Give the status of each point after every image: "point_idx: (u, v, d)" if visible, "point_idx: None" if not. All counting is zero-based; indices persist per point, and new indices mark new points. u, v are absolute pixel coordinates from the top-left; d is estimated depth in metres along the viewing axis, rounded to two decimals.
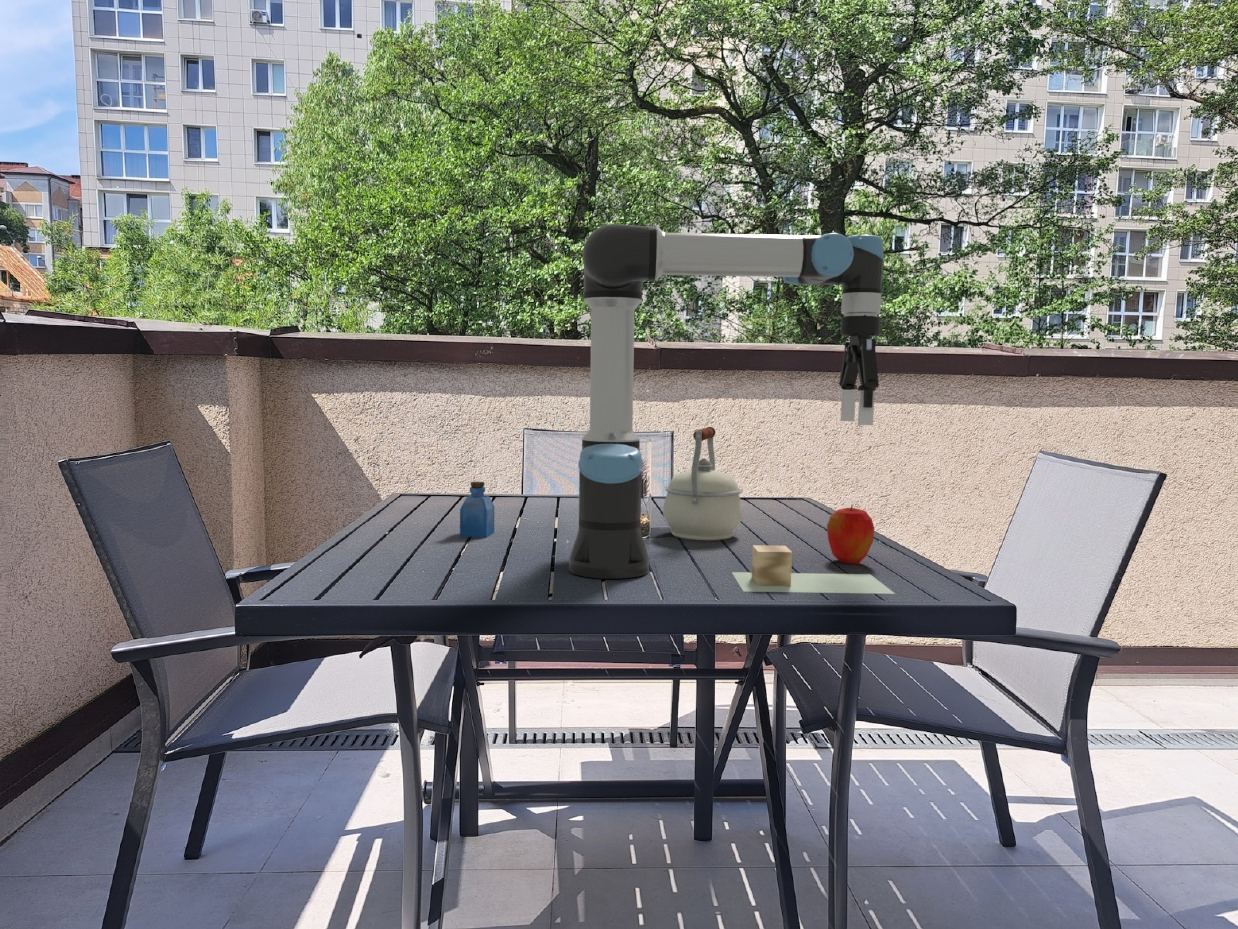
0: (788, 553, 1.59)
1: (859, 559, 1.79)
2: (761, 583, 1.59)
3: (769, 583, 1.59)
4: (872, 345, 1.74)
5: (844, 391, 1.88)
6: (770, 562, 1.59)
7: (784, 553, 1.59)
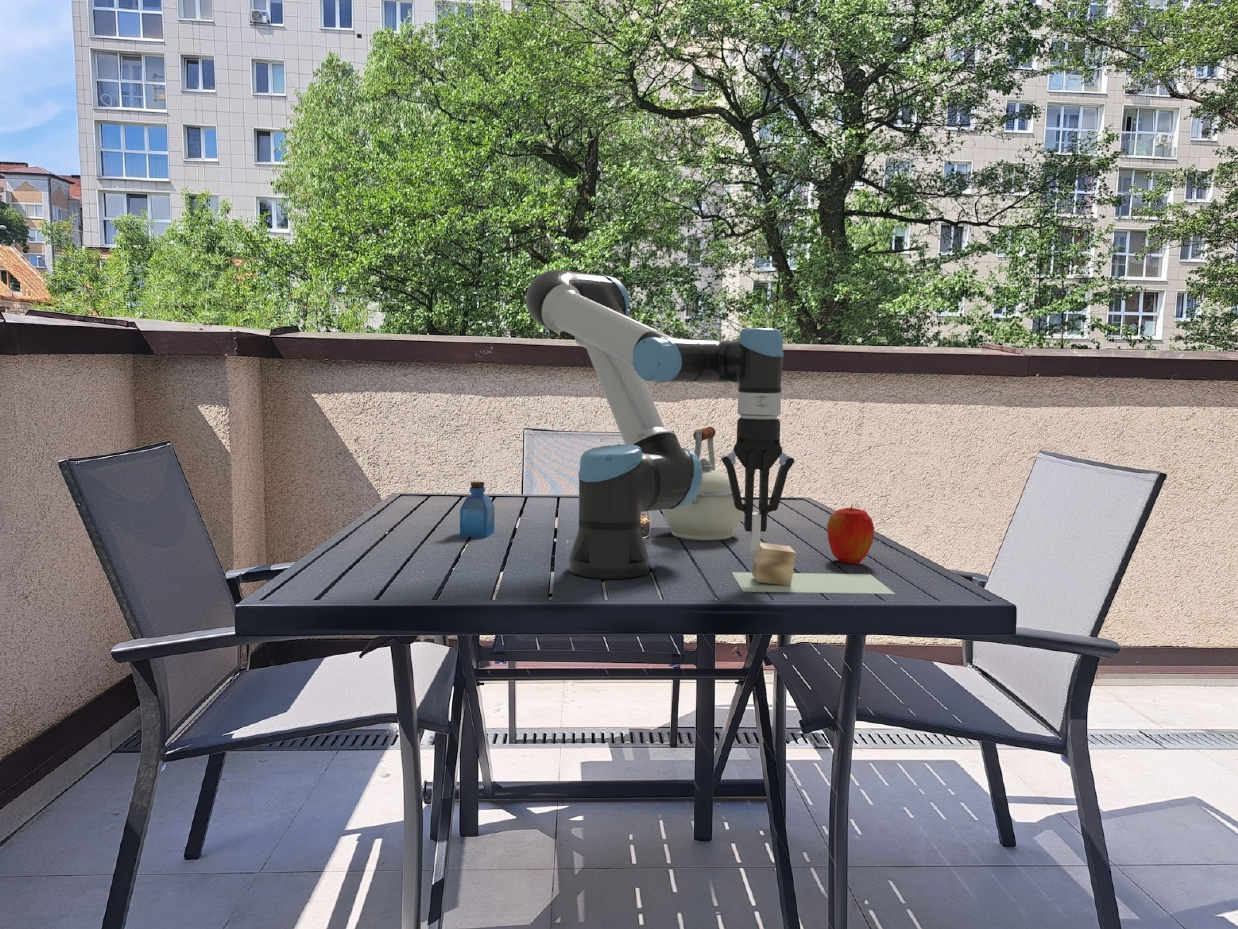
0: (792, 553, 1.59)
1: (859, 559, 1.79)
2: (762, 580, 1.59)
3: (769, 581, 1.59)
4: (724, 464, 1.60)
5: None
6: (773, 560, 1.59)
7: (788, 553, 1.59)
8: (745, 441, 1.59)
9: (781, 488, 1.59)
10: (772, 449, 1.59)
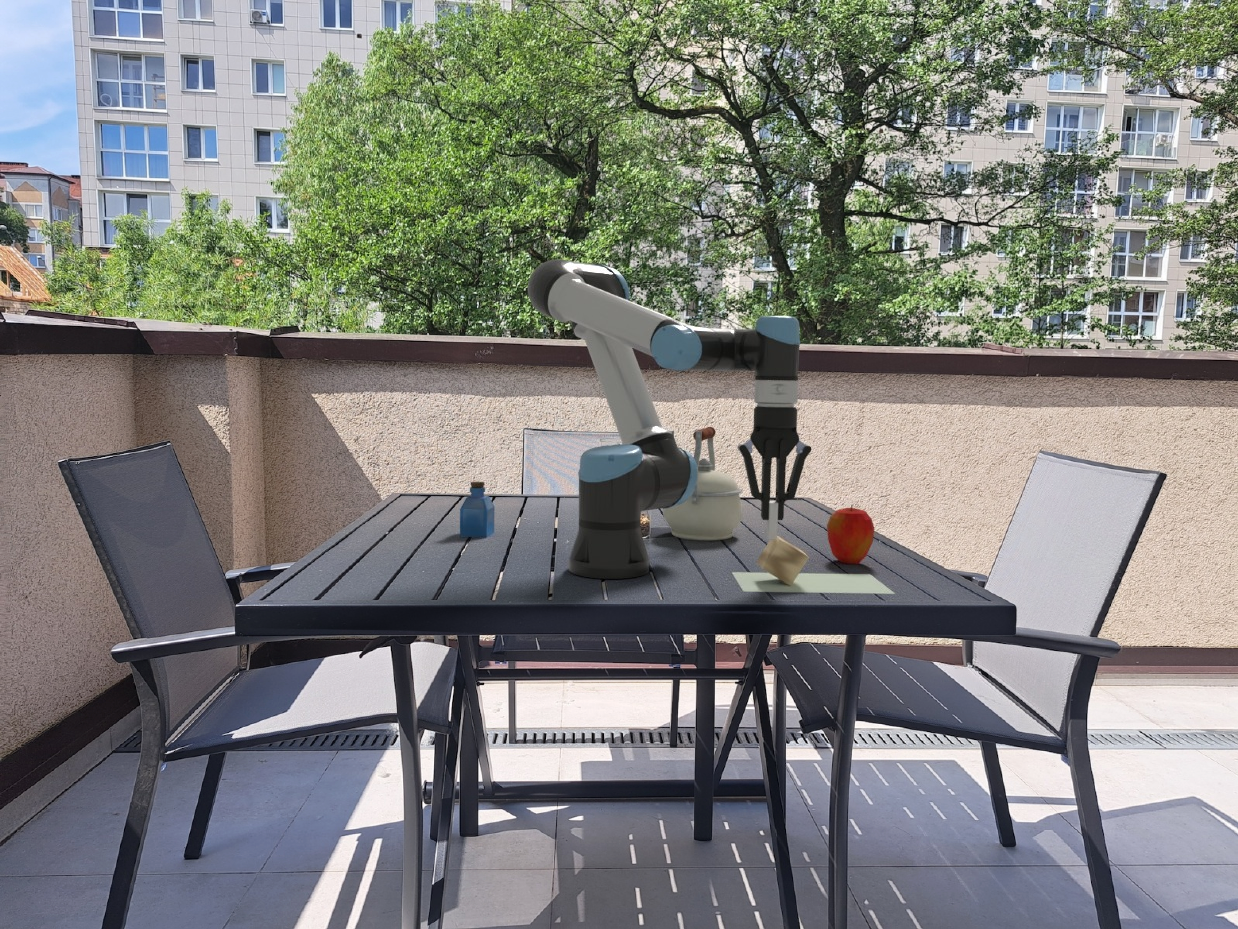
0: (805, 556, 1.59)
1: (859, 559, 1.79)
2: (767, 569, 1.59)
3: (773, 573, 1.59)
4: (741, 452, 1.59)
5: None
6: (785, 555, 1.59)
7: (802, 554, 1.59)
8: (762, 429, 1.59)
9: (798, 476, 1.59)
10: (789, 437, 1.59)
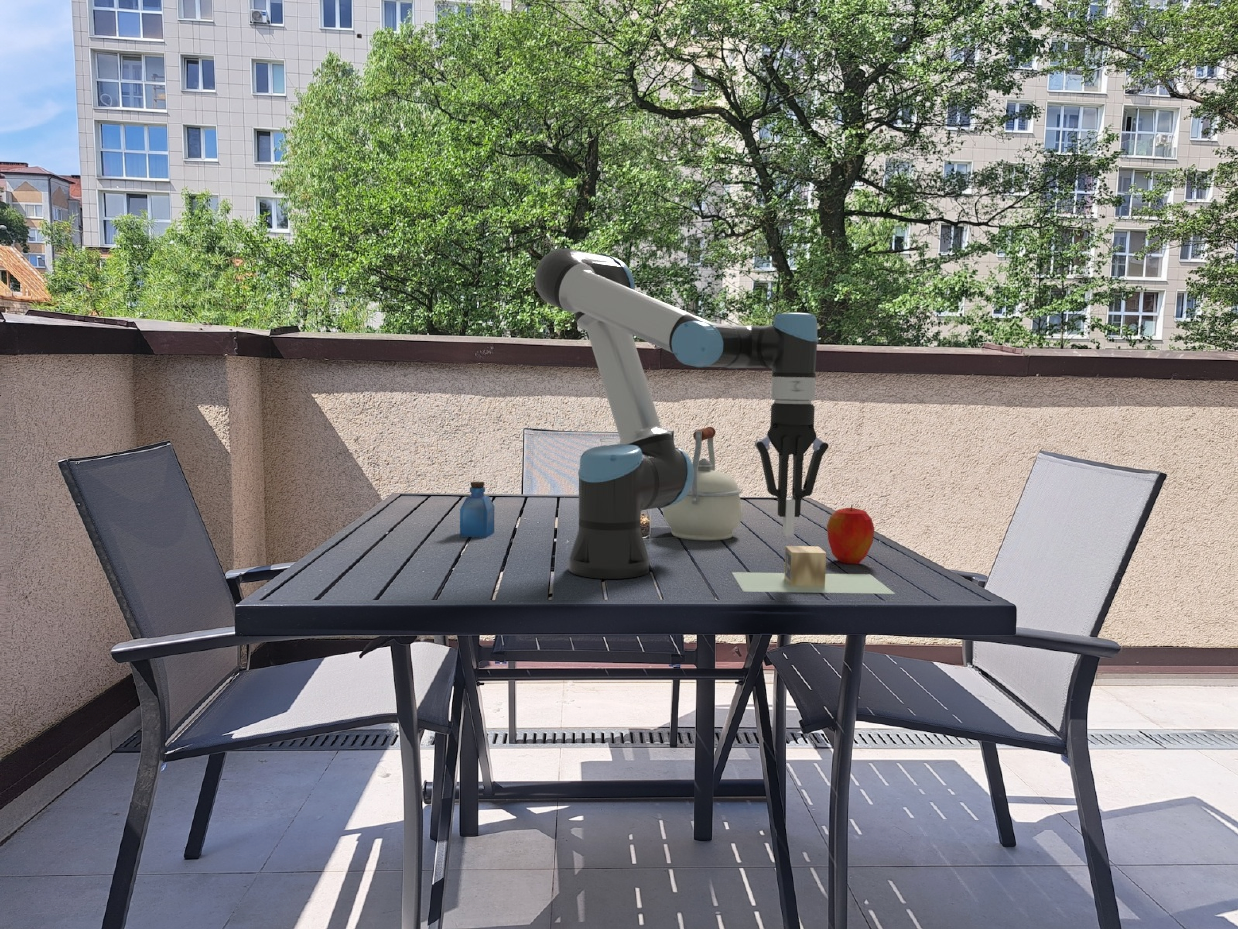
0: (823, 583, 1.59)
1: (859, 559, 1.79)
2: (793, 557, 1.59)
3: (793, 564, 1.59)
4: (758, 449, 1.59)
5: None
6: (815, 565, 1.59)
7: (823, 579, 1.59)
8: (779, 426, 1.59)
9: (815, 473, 1.59)
10: (806, 434, 1.59)
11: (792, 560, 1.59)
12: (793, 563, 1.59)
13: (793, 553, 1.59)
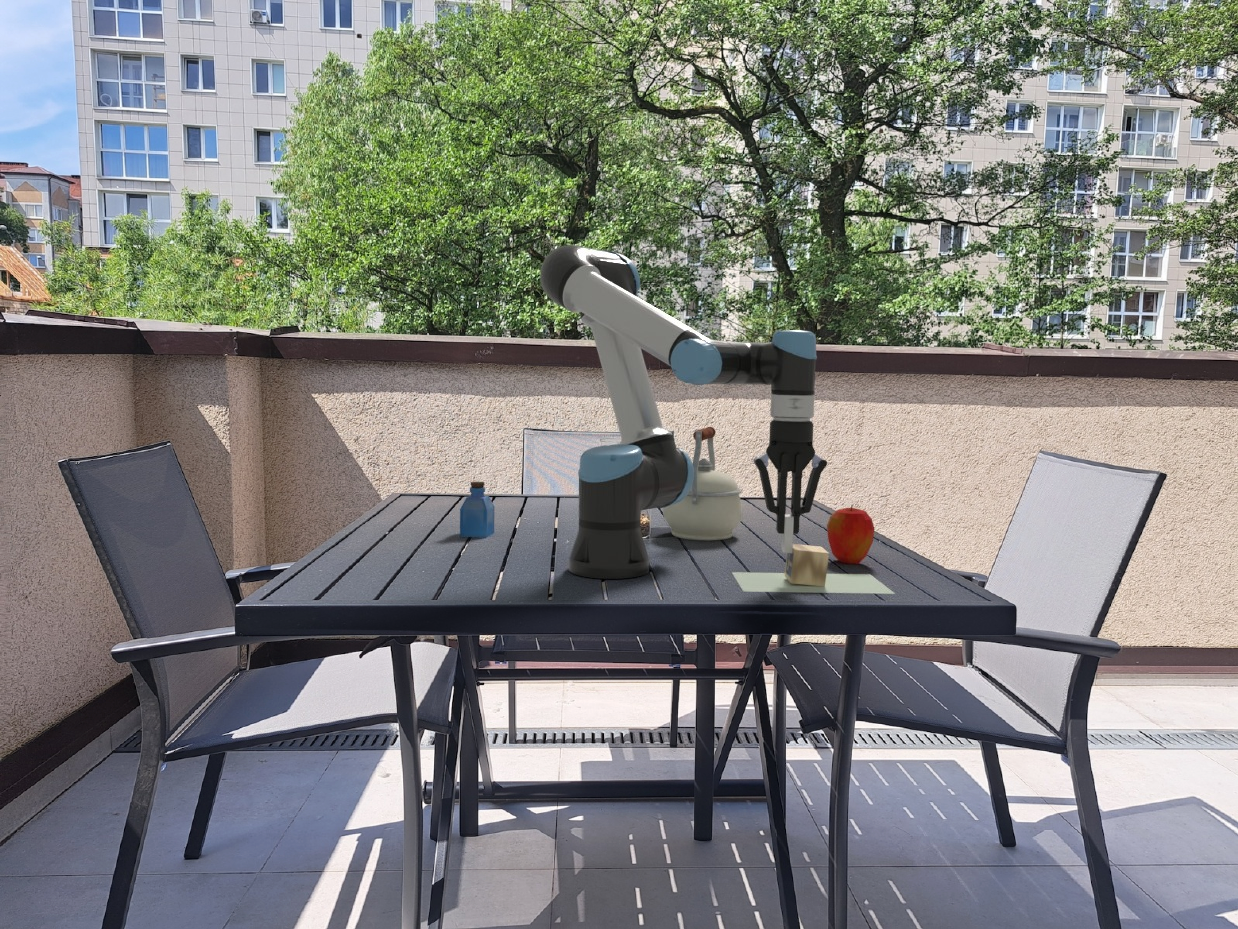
0: (824, 583, 1.59)
1: (859, 559, 1.79)
2: (796, 554, 1.59)
3: (795, 562, 1.59)
4: (757, 466, 1.60)
5: None
6: (817, 565, 1.59)
7: (824, 579, 1.59)
8: (778, 443, 1.59)
9: (814, 490, 1.60)
10: (805, 451, 1.59)
11: (794, 557, 1.59)
12: (795, 560, 1.59)
13: (796, 551, 1.59)
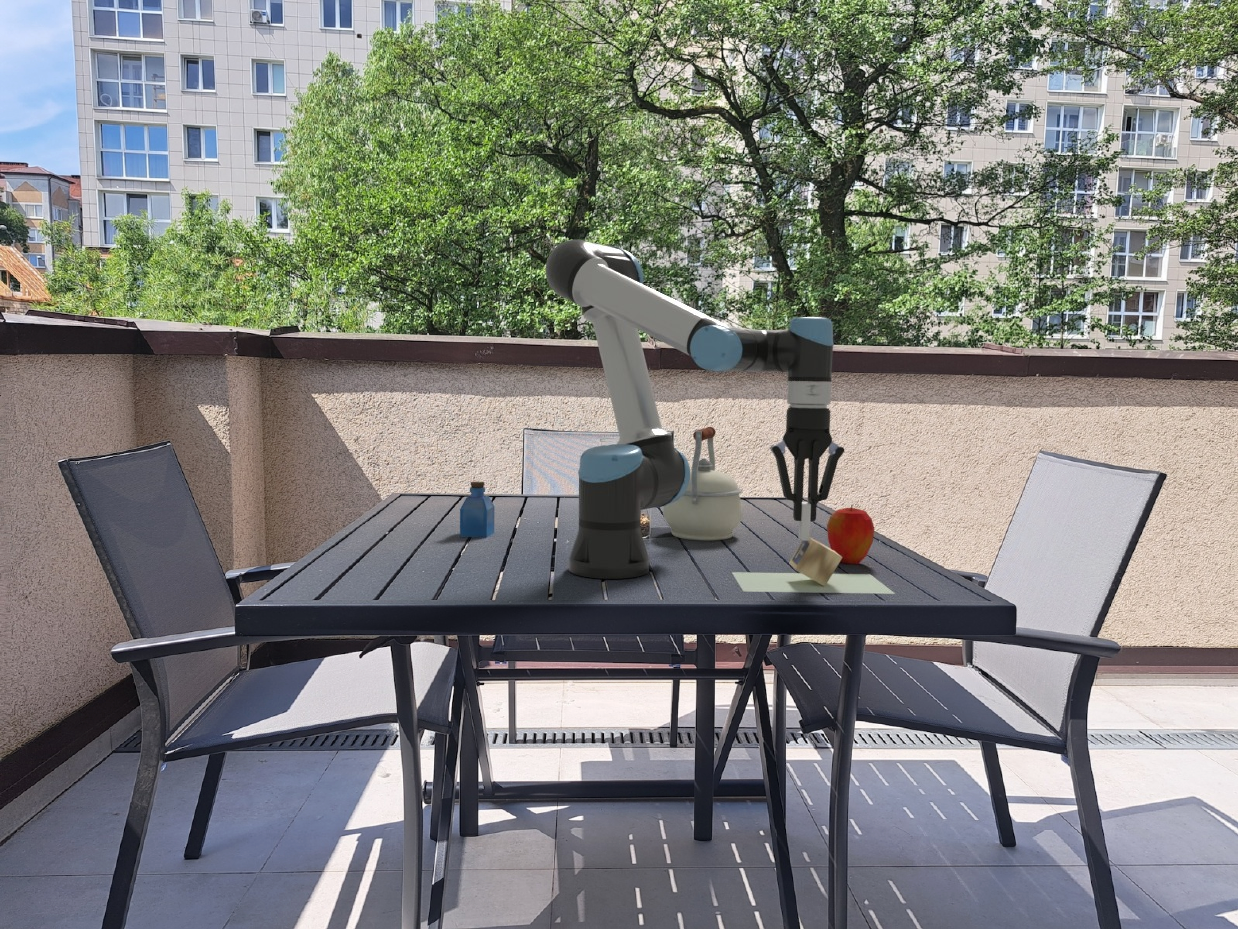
0: (825, 582, 1.59)
1: (859, 559, 1.79)
2: (812, 545, 1.59)
3: (808, 552, 1.59)
4: (774, 453, 1.60)
5: None
6: (826, 563, 1.59)
7: (827, 579, 1.59)
8: (795, 430, 1.59)
9: (831, 477, 1.59)
10: (822, 438, 1.59)
11: (809, 548, 1.59)
12: (808, 551, 1.59)
13: (813, 542, 1.59)
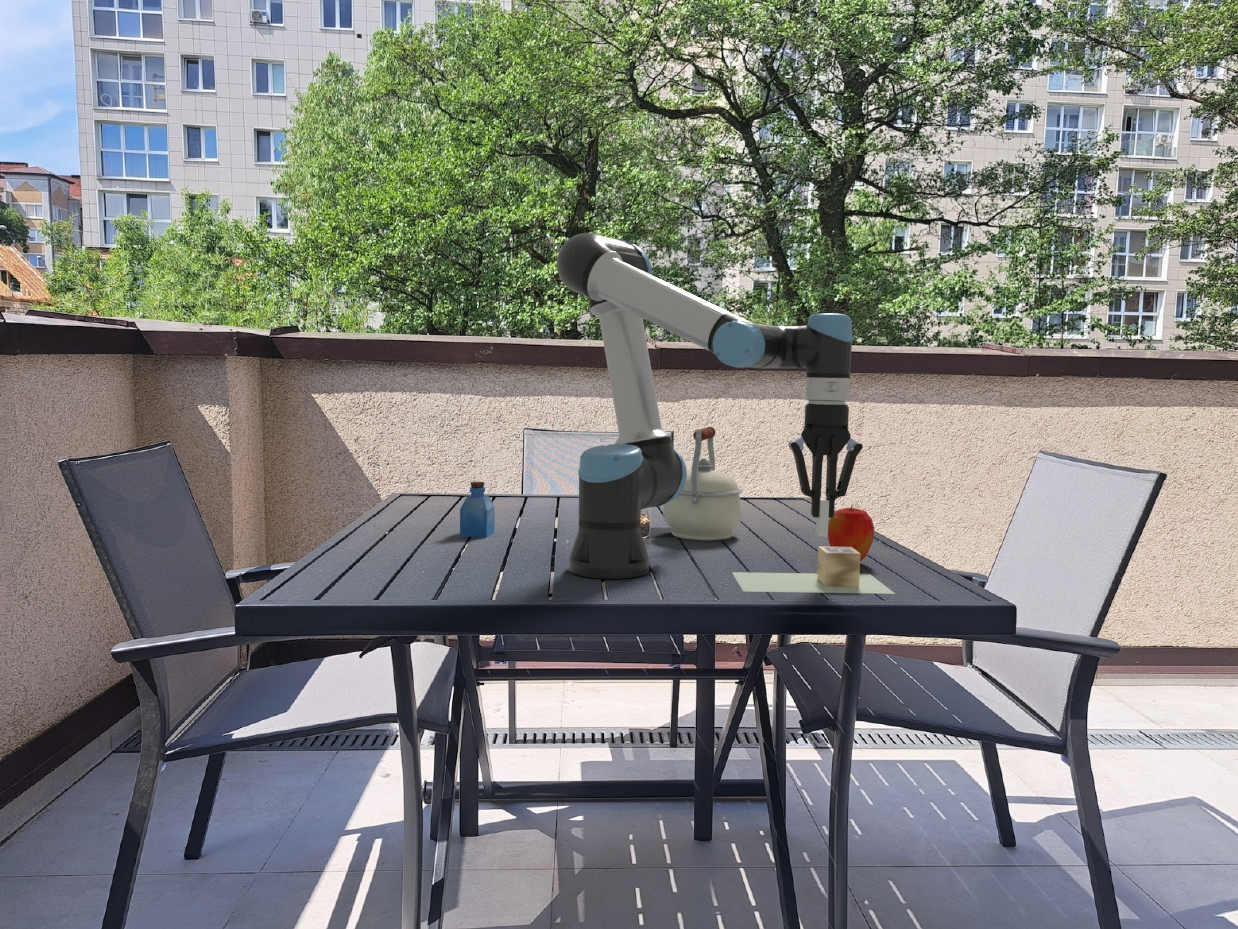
0: (828, 585, 1.60)
1: None
2: (855, 555, 1.59)
3: (847, 555, 1.59)
4: (792, 450, 1.60)
5: None
6: (846, 576, 1.59)
7: (832, 585, 1.60)
8: (814, 427, 1.59)
9: (849, 474, 1.59)
10: (840, 435, 1.59)
11: (852, 554, 1.59)
12: (849, 555, 1.59)
13: (859, 554, 1.59)
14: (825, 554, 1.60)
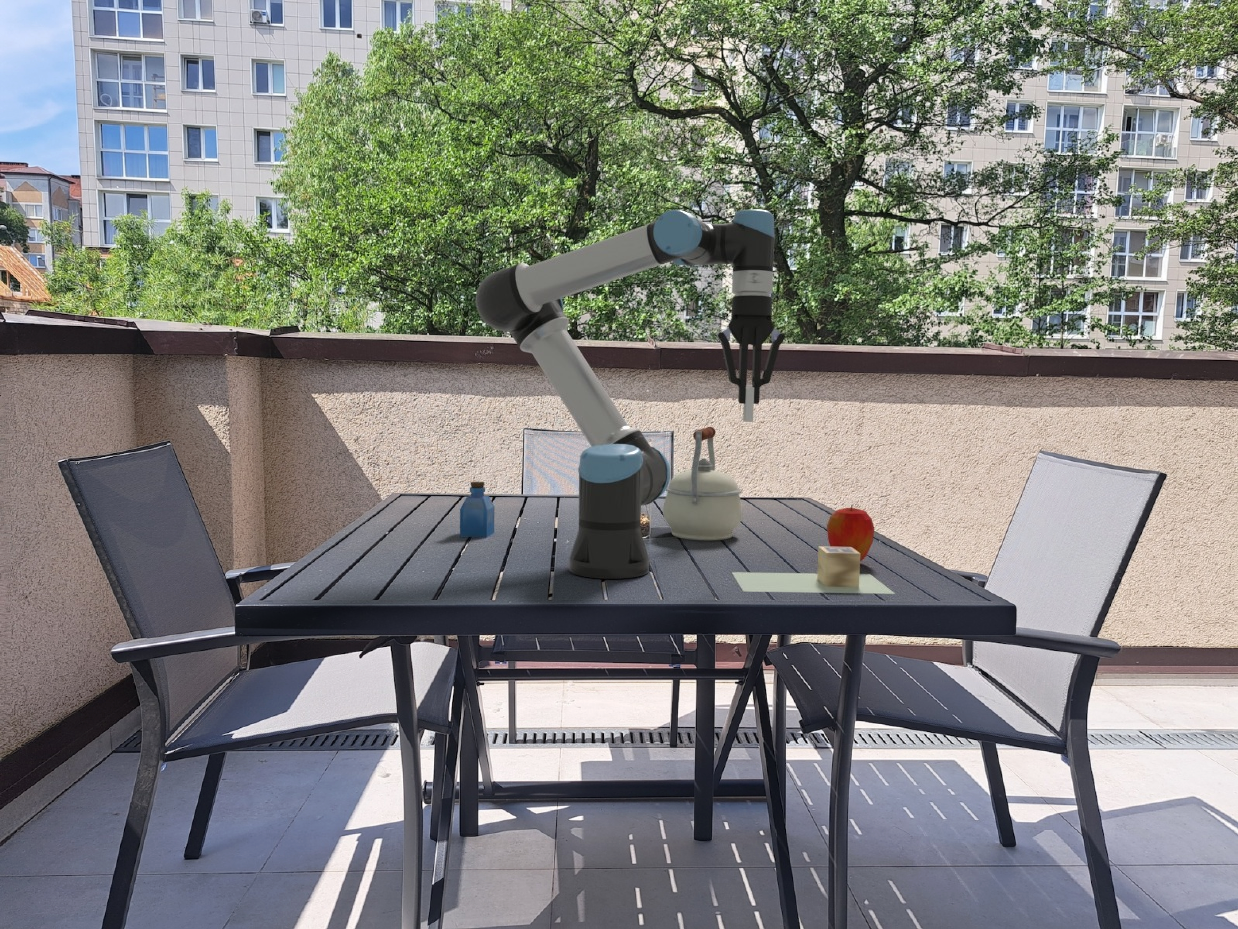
0: (828, 585, 1.60)
1: None
2: (855, 555, 1.59)
3: (847, 555, 1.59)
4: (719, 339, 1.70)
5: None
6: (846, 576, 1.59)
7: (832, 585, 1.60)
8: (739, 317, 1.69)
9: (773, 362, 1.70)
10: (764, 325, 1.70)
11: (852, 554, 1.59)
12: (849, 555, 1.59)
13: (859, 554, 1.59)
14: (825, 554, 1.60)
